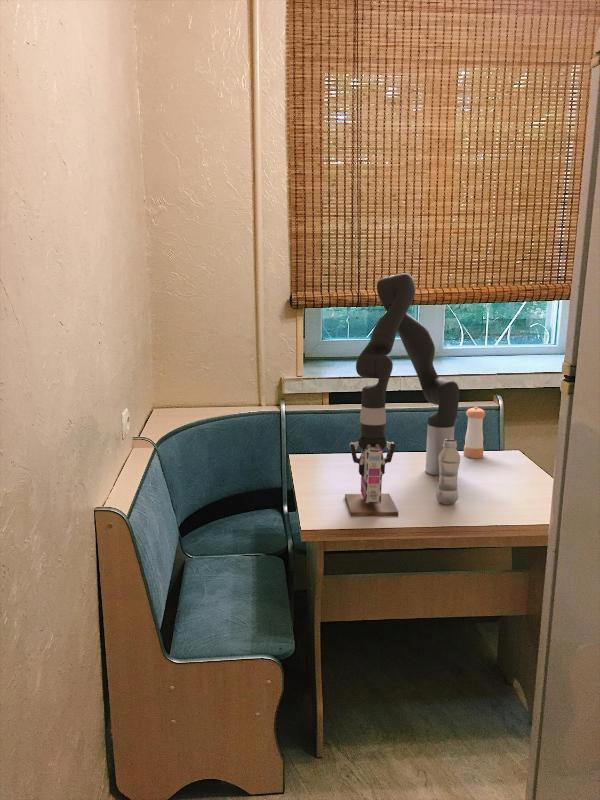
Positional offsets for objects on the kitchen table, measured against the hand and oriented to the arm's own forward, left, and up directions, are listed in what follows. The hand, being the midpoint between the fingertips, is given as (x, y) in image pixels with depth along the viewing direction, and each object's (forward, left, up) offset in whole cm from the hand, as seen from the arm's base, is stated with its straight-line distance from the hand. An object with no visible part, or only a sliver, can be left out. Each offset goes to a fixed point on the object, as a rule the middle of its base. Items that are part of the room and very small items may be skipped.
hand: (371, 475), depth 211 cm
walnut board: (0, 0, -10) cm, 10 cm away
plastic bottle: (-24, -2, -10) cm, 26 cm away
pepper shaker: (-47, -53, -10) cm, 72 cm away
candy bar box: (0, 0, -7) cm, 7 cm away
